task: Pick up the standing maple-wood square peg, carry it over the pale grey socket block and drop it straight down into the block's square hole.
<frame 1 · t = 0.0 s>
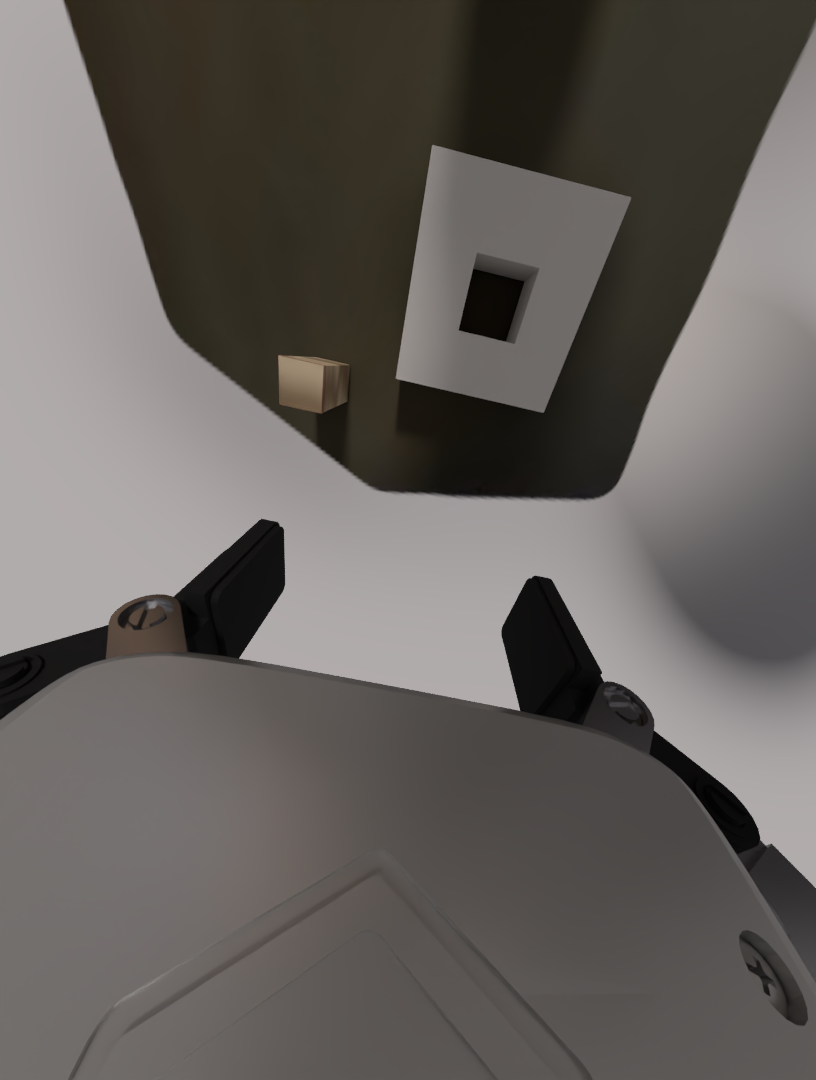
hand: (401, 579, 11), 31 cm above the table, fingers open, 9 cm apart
maple peg: (332, 380, 36), on the table
socket block: (488, 309, 31), on the table
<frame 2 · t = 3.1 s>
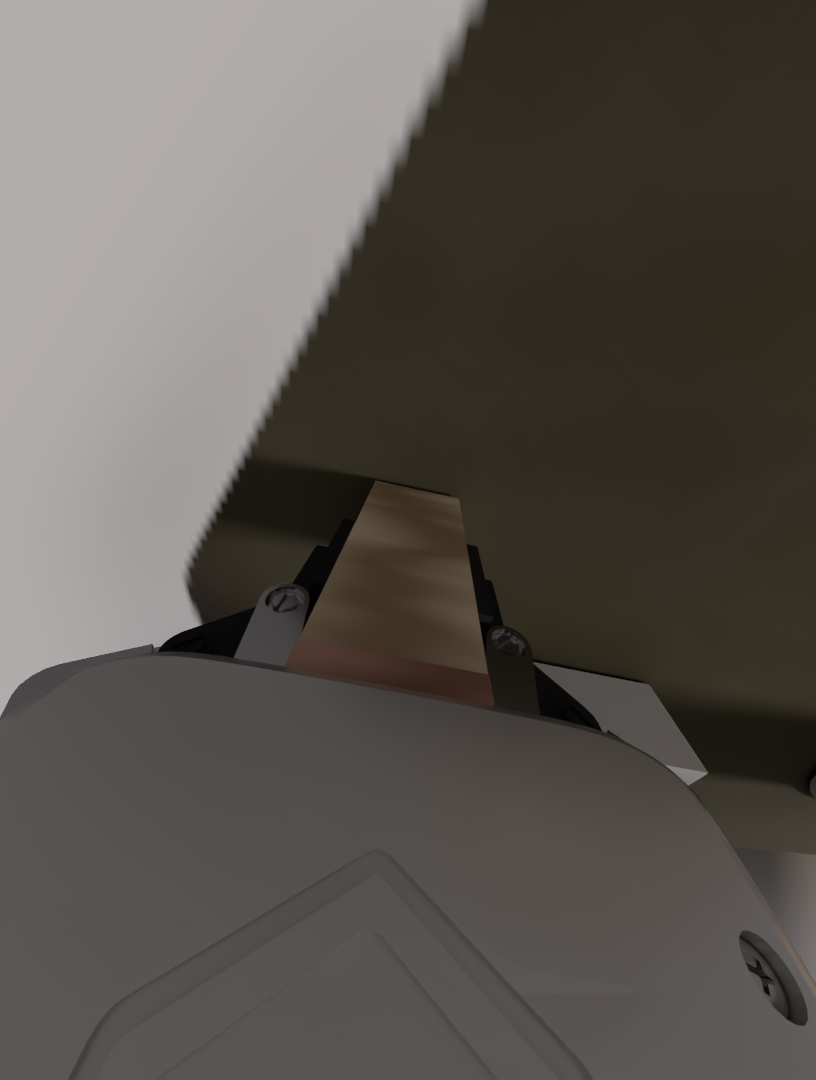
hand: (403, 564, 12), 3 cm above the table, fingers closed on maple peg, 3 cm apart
maple peg: (409, 525, 15), on the table, touching gripper
socket block: (492, 724, 24), on the table
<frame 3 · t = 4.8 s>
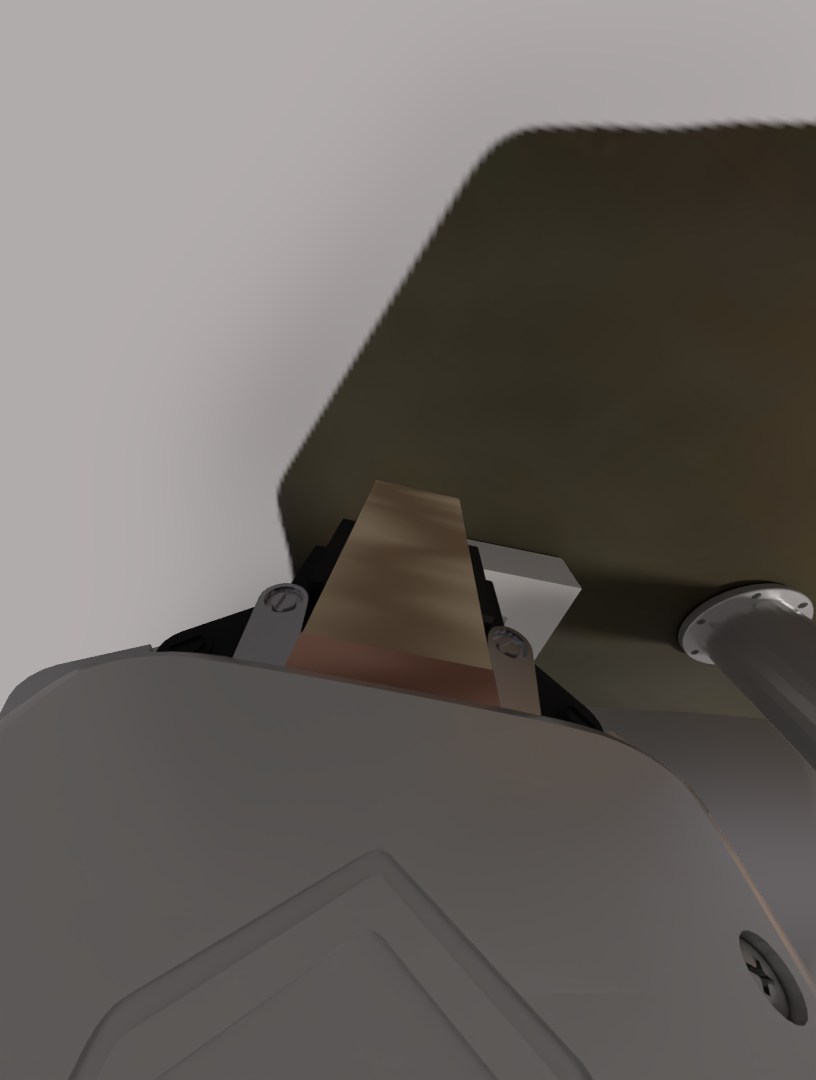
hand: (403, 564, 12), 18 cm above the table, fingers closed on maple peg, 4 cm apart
maple peg: (409, 526, 15), point 14 cm above the table, touching gripper
socket block: (467, 598, 36), on the table
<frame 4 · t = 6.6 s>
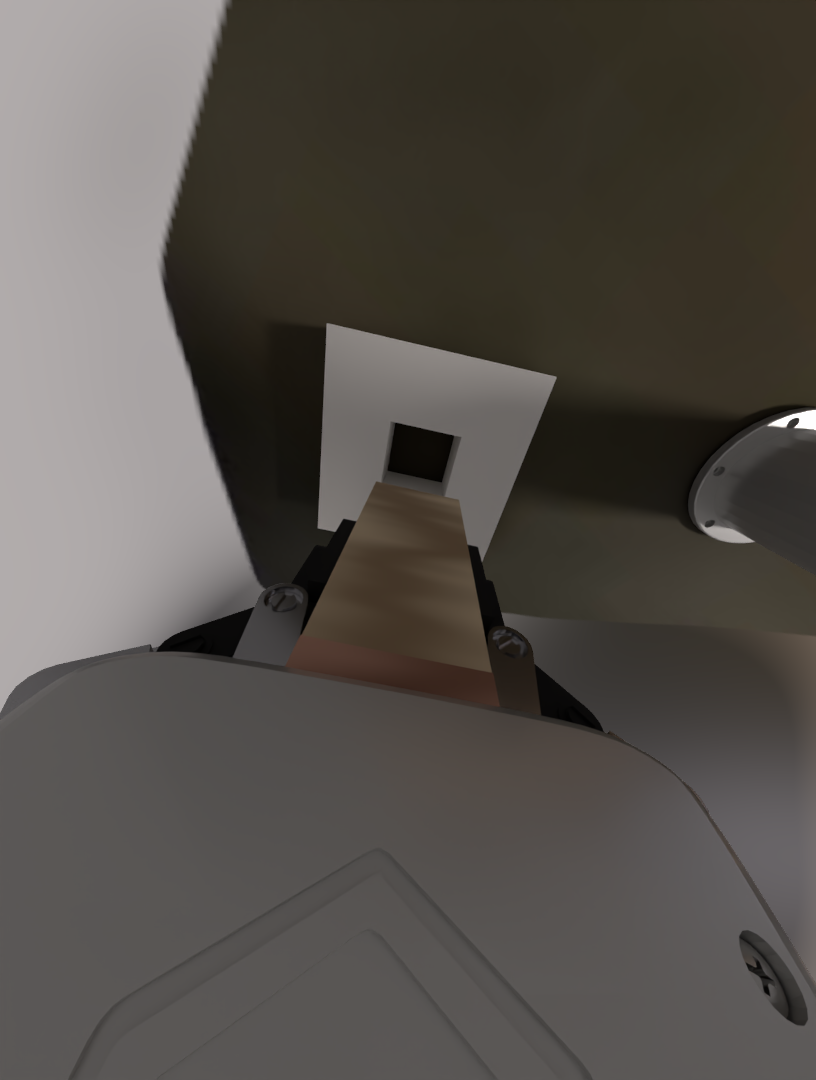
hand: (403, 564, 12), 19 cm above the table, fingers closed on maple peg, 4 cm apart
maple peg: (409, 527, 15), point 16 cm above the table, touching gripper
socket block: (420, 449, 29), on the table
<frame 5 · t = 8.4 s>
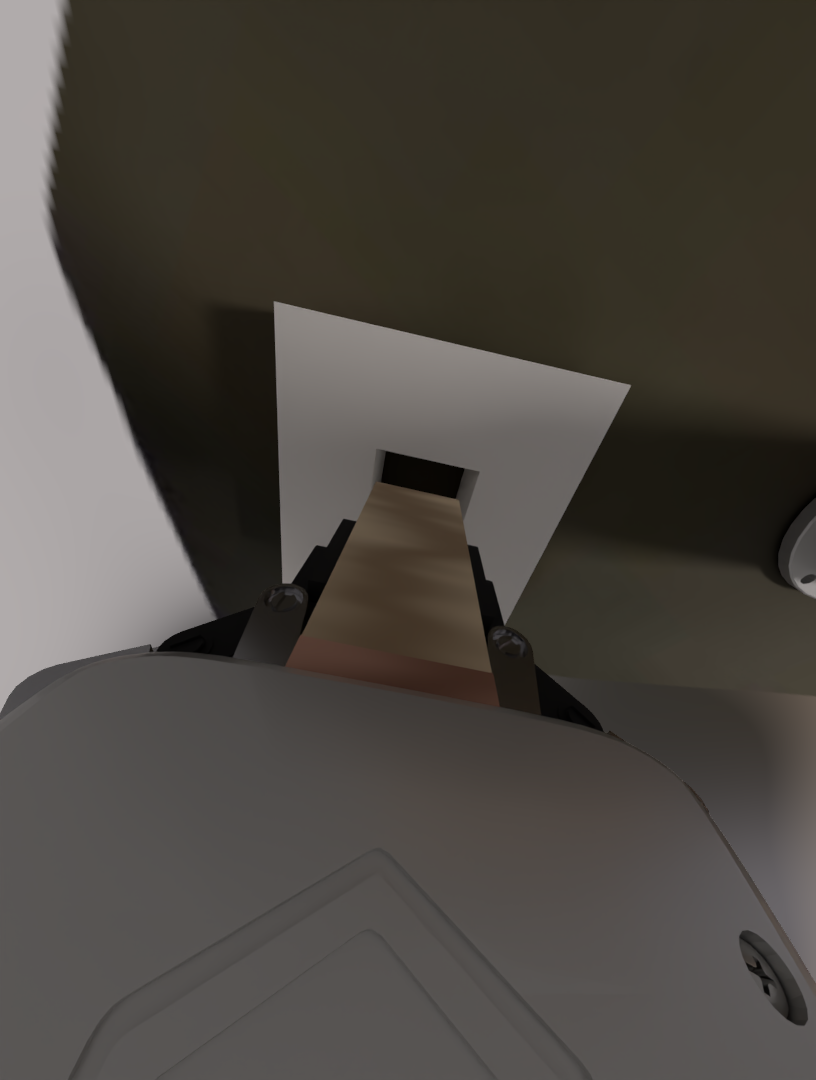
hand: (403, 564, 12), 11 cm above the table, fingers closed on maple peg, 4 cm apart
maple peg: (409, 527, 15), point 7 cm above the table, touching gripper
socket block: (421, 478, 21), on the table
when the fingers open (5 cm above the table, at t = 10.0 s): maple peg drops 2 cm, resting in socket block.
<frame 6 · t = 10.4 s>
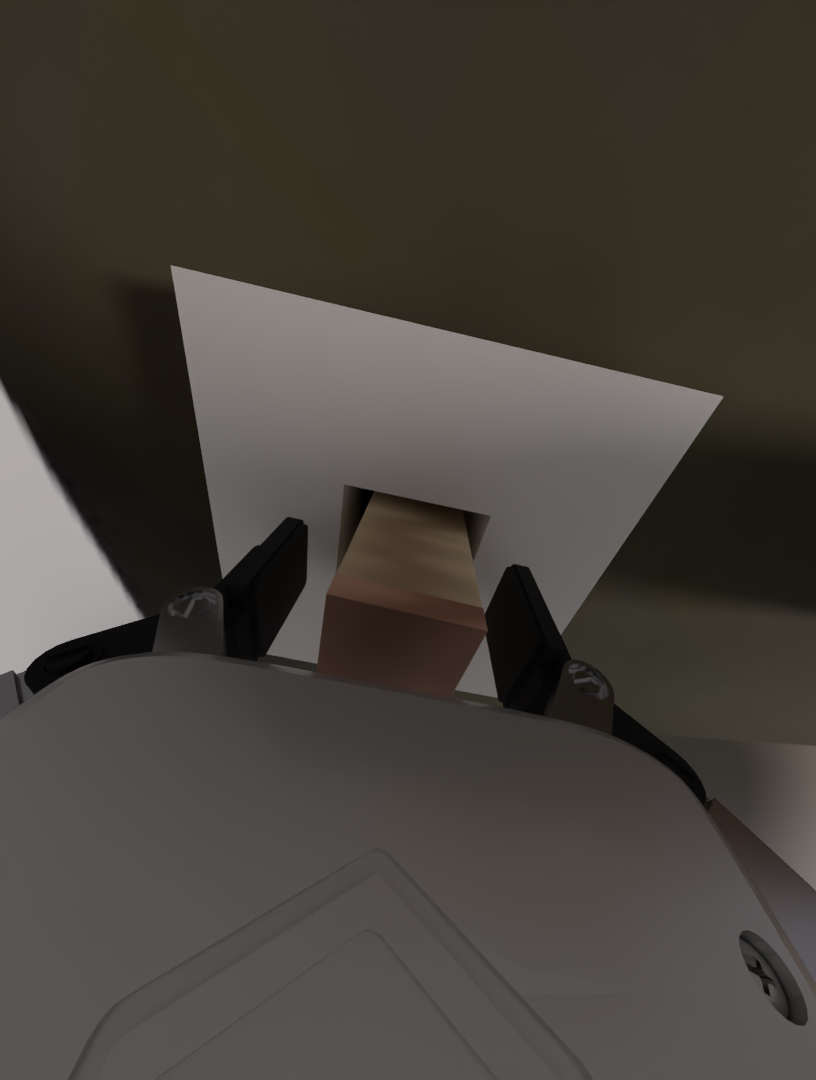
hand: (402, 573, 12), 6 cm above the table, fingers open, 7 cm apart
maple peg: (412, 509, 17), resting in socket block
socket block: (411, 509, 17), on the table
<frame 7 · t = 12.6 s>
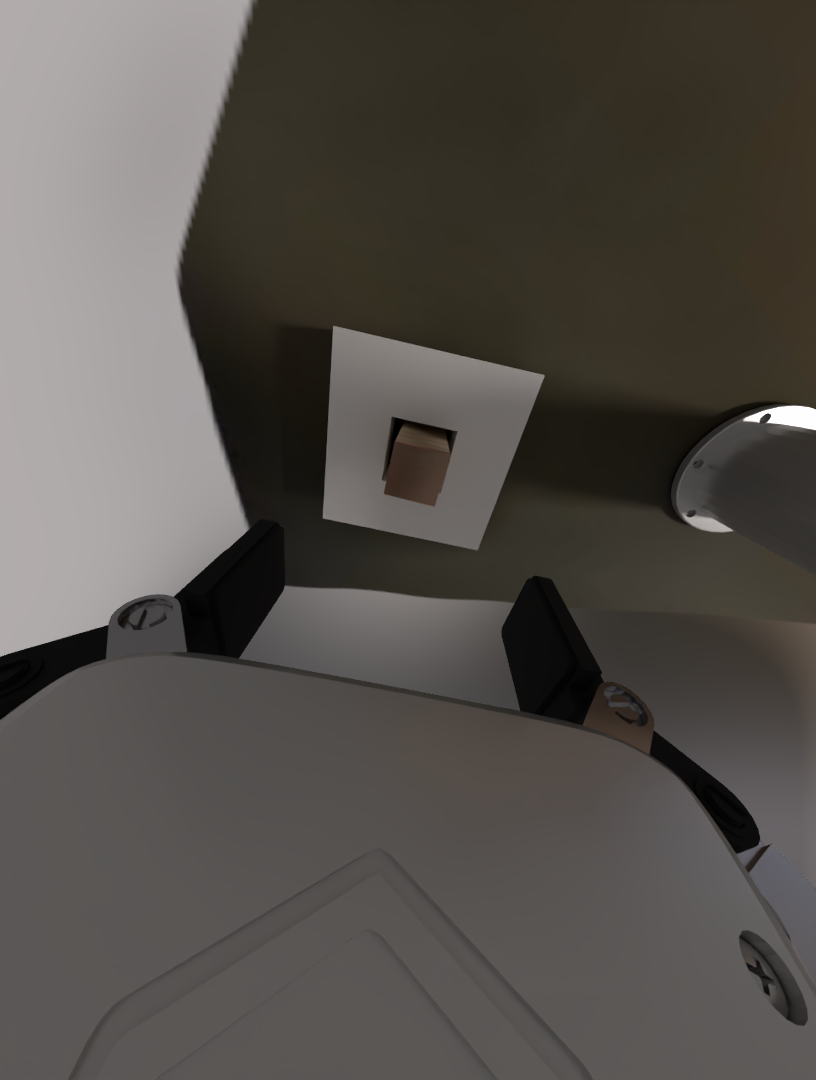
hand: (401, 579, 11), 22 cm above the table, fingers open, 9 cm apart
maple peg: (420, 443, 30), resting in socket block
socket block: (419, 443, 30), on the table
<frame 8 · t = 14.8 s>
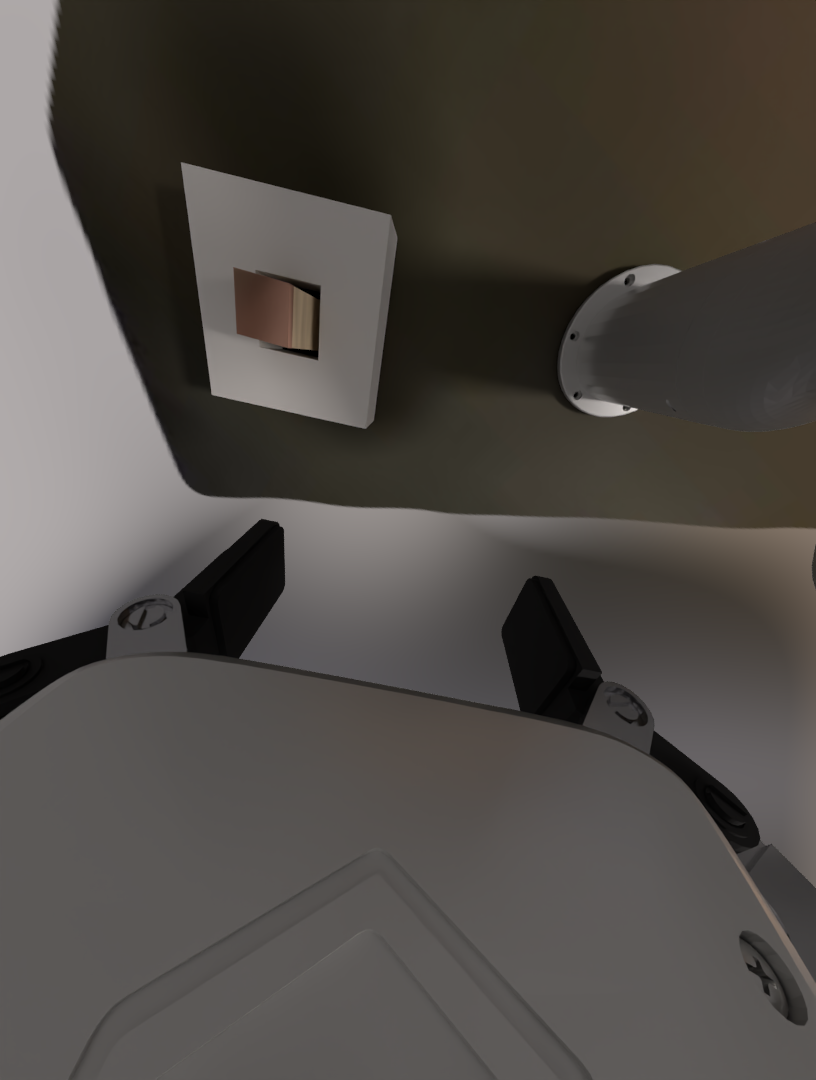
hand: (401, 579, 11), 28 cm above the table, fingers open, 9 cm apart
maple peg: (309, 324, 31), resting in socket block
socket block: (308, 323, 31), on the table
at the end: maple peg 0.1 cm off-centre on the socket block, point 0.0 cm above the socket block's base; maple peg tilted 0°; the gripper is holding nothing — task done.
